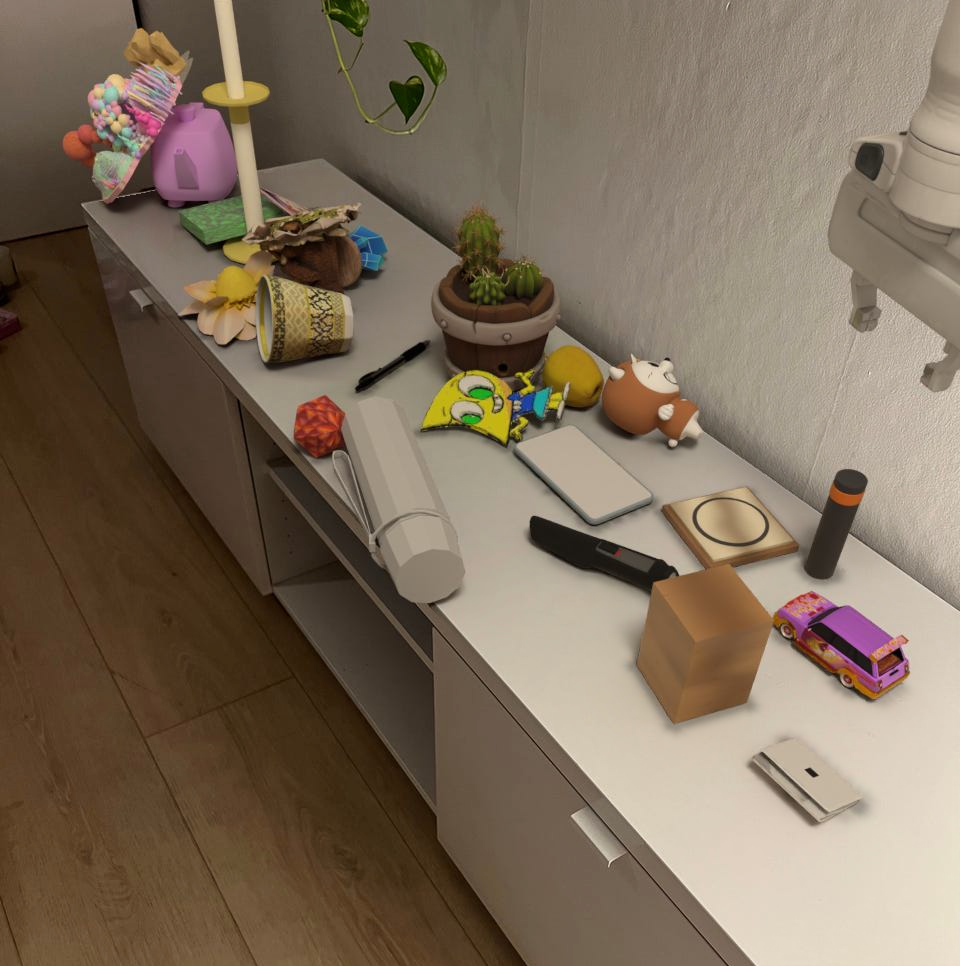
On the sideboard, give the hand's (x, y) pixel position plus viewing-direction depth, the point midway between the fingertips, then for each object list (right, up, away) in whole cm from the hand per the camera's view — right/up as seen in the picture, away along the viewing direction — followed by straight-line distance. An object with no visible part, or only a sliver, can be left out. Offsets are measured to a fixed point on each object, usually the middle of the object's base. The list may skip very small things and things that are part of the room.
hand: (896, 356), depth 80 cm
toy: (-24, +2, +30) cm, 38 cm away
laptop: (-8, -35, -1) cm, 36 cm away
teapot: (-77, +46, +73) cm, 116 cm away
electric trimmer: (-22, -16, +16) cm, 31 cm away
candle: (-65, +33, +61) cm, 95 cm away
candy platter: (-82, +52, +67) cm, 118 cm away
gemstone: (-53, +27, +51) cm, 78 cm away
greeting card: (-64, +41, +68) cm, 102 cm away
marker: (0, -16, +17) cm, 23 cm away
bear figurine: (-57, +31, +45) cm, 79 cm away
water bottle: (-46, 0, +25) cm, 52 cm away
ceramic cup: (-50, +17, +42) cm, 68 cm away
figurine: (-9, 0, +28) cm, 29 cm away
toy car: (-2, -24, +9) cm, 26 cm away
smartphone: (-23, -5, +26) cm, 35 cm away
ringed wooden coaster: (-8, -12, +20) cm, 25 cm away
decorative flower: (-61, +21, +43) cm, 78 cm away
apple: (-20, +5, +34) cm, 39 cm away
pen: (-44, +11, +39) cm, 60 cm away
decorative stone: (-48, -1, +24) cm, 54 cm away
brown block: (-15, -27, +6) cm, 31 cm away
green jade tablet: (-69, +39, +63) cm, 102 cm away
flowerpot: (-32, +9, +39) cm, 51 cm away
